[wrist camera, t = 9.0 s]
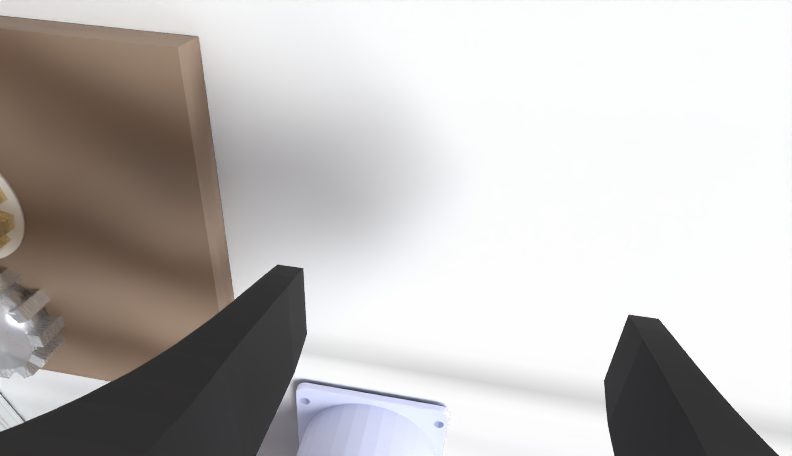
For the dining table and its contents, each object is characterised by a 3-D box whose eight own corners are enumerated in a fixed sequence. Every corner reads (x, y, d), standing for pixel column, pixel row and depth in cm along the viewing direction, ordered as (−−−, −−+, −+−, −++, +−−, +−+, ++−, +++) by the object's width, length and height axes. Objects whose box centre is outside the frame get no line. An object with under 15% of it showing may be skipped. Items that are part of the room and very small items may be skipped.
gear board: (245, 381, 29) (197, 473, 25) (-25, 334, 31) (-116, 412, 27) (198, 36, 20) (105, 85, 15) (-192, -5, 21) (-383, 28, 17)
